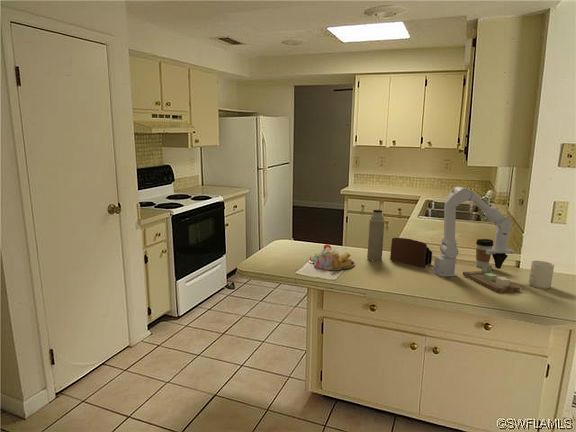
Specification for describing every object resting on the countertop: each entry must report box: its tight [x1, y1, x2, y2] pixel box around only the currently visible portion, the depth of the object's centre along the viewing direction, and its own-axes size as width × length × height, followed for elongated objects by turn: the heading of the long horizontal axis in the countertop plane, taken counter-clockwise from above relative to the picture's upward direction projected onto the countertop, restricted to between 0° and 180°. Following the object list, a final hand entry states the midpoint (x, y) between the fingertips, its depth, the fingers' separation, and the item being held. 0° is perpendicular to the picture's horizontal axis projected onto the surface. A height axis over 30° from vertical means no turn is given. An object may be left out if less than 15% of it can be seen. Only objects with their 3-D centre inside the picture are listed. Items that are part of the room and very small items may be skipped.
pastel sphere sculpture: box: [309, 243, 356, 271], centre depth 211 cm, size 25×24×9 cm
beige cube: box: [495, 276, 511, 287], centre depth 180 cm, size 4×4×4 cm
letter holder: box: [389, 237, 433, 269], centre depth 218 cm, size 10×20×14 cm, turn 49°
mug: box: [528, 260, 555, 290], centre depth 187 cm, size 12×9×11 cm
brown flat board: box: [462, 270, 521, 294], centre depth 188 cm, size 12×24×2 cm, turn 12°
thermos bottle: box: [366, 209, 386, 262], centre depth 221 cm, size 8×8×28 cm
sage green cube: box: [484, 272, 498, 281], centre depth 188 cm, size 4×4×4 cm
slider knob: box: [480, 263, 493, 273], centre depth 196 cm, size 3×4×4 cm
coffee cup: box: [475, 238, 494, 268], centre depth 214 cm, size 8×8×15 cm
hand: (497, 268), depth 198 cm, fingers closed
